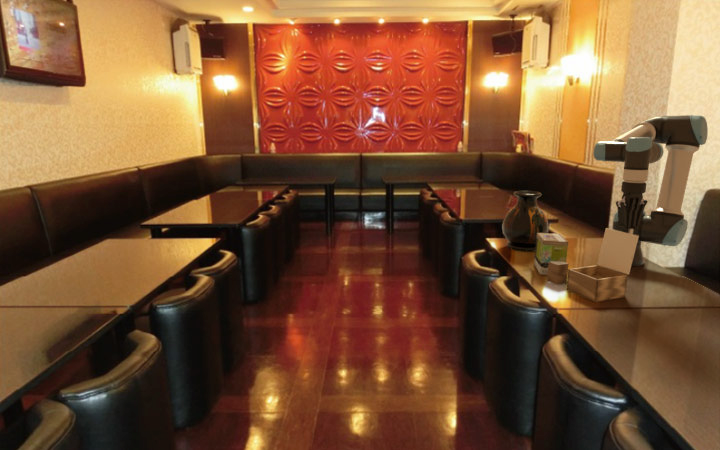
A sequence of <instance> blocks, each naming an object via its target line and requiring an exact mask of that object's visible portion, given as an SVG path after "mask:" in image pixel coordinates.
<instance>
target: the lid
mask: <svg viewBox="0 0 720 450" xmlns="http://www.w3.org/2000/svg"><path fill="white" fill-rule="evenodd" d="M638 238H639V236H637V235H633V234H629V233H625V232H621V231H617V230H613V229H612V228H608V227H606V228H605V231H604V233H603V239H602V242H601V247H600V251H599V254H598V260H597V263H596V265H598V266H601V267H604V268H607V269H610V270H613V271H616V272H619V273H622V274H625V275H630V272H631V268H632V266H631V265H632V261H633V257H634V253H635V249H636V245H637V241H638Z"/></svg>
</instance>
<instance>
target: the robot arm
mask: <svg viewBox="0 0 720 450" xmlns="http://www.w3.org/2000/svg"><path fill="white" fill-rule="evenodd" d="M707 139H708V123H707V119H706V118H705V116H702V115H693V114H690V115H689V114H687V115H661V116H655V117H651V118H649V119H645V120H643V121H640V122H638V123H637V124H635V125H633V127H632V128H631V129H630V130H629V131H627V132H625V133H624V134H623V133H622V134H621V135H619V136H617V137H616V138H614V139H612V140H610V141H606V140H604V141H598V142H596V144H595V145H594V148H593V158H594V159H595V161H599V162H611V163H612V162H617V163H624V164H623V165H624V166H623V172H622V173H623V174H622V180H623V181H622V182H621V188H620V191H621V193H622V196H621V200H619V201H615V205H616V207H617V211H616V212H615V213H614V216H613V220H612V227H611V229H613V230H617V231H621V232H625V233H629V234H633V235H637V236H639V238H638V241H637V245H636V249H635V253H634V257H633V261H632V265H631V267H639V266H643V265H644V259H645V258H644V255H643V250H642V242H644V243H647V244H648V243H649V244H655V245H661V246H665V247H666V246H667V247H677V246H678V245H680V244H681V242H682V241H683V239H684V237H685V235H686V232H687V231H688V225H689V223H688V220H687V219H685V214H684V213H683V211H682V206H683V202H684V198H685V194H686V193H685V192H686V189H687V184H688V179H689V176H690V170H691V166H692V161H693V157H694V154H695V153H696V152H697V151H699V150H700V146H703V145H705V144H706V143H707ZM662 144H663V145H664V144H665V148H663V145H662ZM664 149H666V150H667V151H668V153H667V157H666V162H665V166H664V171H663V175H662V180H661V184H660V189H659V192H658V193H659V194H658V197H657V198H658V199H657V202H656V203H657V204H656V207H655V208H653V209H651V211H650V214H646V211H645V209H646V206H647V204H648V200H646V199H644V195H643V194H645V193H646V191H647V183H646V182H647V181H648V177H649V176H648V175H649V167H650V164H653V163H656V162H658V161H660V159H662V158H663V156H664Z"/></svg>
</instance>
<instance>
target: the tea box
mask: <svg viewBox="0 0 720 450" xmlns="http://www.w3.org/2000/svg"><path fill="white" fill-rule="evenodd" d="M568 249H569V241H568V240H567V239H566V238H565V237H564V236H563V235H562V234H561V233H549V232H548V233H537V237H536V248H535V251H534V263H533V264H534V266H535V268H536V270H537V271H538V274H539V275H542V276H547V275H548V264H549V261H557V260H560V261H562V262H565V263H567V257H568Z"/></svg>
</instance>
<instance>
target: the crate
mask: <svg viewBox="0 0 720 450" xmlns="http://www.w3.org/2000/svg"><path fill="white" fill-rule="evenodd" d="M628 275H629V274H625V273H622V272H619V271H616V270H613V269H610V268H607V267H604V266H601V265H598V264H596V265H589V266H588V265H587V266H582V267H581V266H580V267H574V268H568V275H567V284H566V289H565V290H566V291H568V292H571V293H573V294H575V295H578V296H580V297H582V298H584V297H585V299H587V300H589V301H592V302H594V303H598V302H604V301H608V299H610V300H614V299H620V298H625V297H626V293H627V285H628V284H627V283H628Z"/></svg>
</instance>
